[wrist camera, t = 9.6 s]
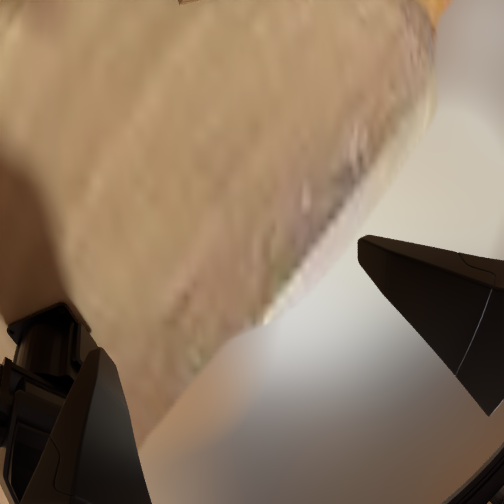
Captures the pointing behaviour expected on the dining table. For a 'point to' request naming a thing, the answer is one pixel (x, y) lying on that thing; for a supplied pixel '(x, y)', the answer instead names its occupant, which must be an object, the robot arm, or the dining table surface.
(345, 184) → the dining table surface
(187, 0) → the walnut block
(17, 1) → the dining table surface
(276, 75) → the dining table surface
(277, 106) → the dining table surface
